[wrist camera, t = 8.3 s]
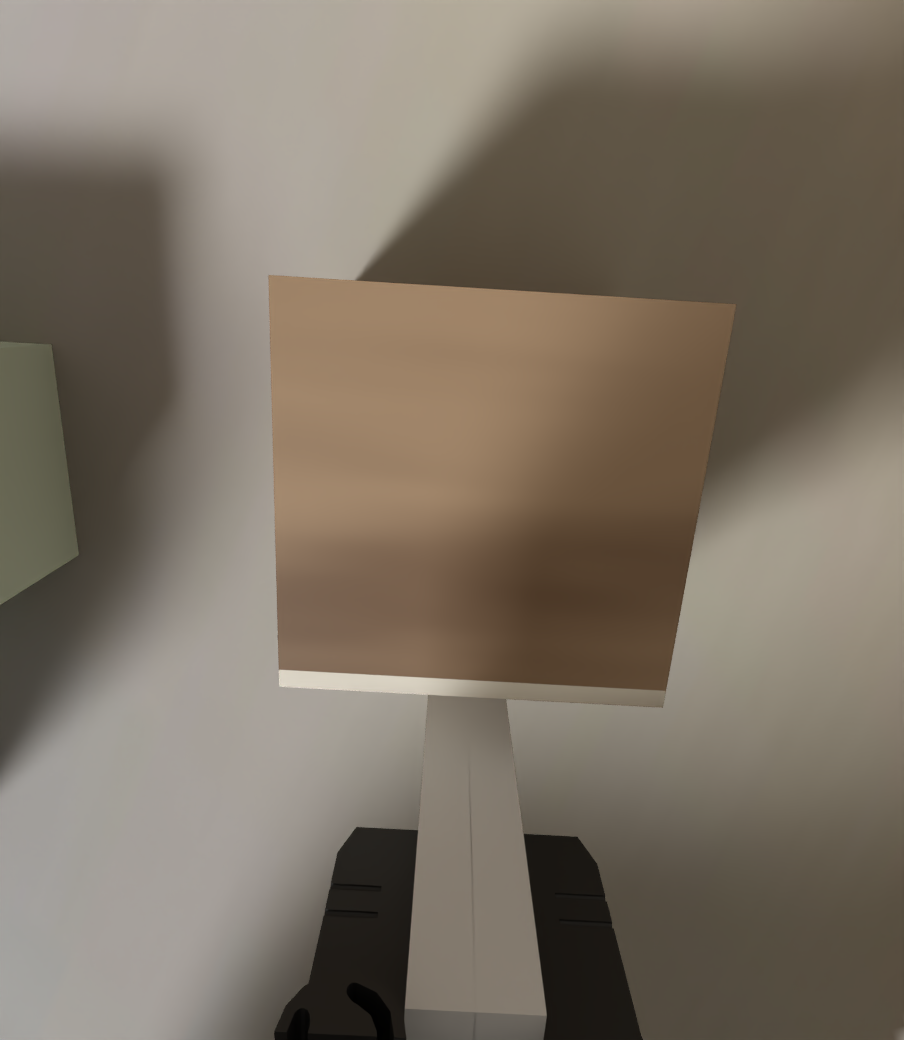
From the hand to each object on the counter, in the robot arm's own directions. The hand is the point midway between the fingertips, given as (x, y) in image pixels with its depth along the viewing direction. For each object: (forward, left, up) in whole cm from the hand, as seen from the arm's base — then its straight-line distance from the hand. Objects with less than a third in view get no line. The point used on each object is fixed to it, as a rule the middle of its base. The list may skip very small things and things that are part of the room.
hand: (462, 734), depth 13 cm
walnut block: (+3, 0, 0) cm, 3 cm away
